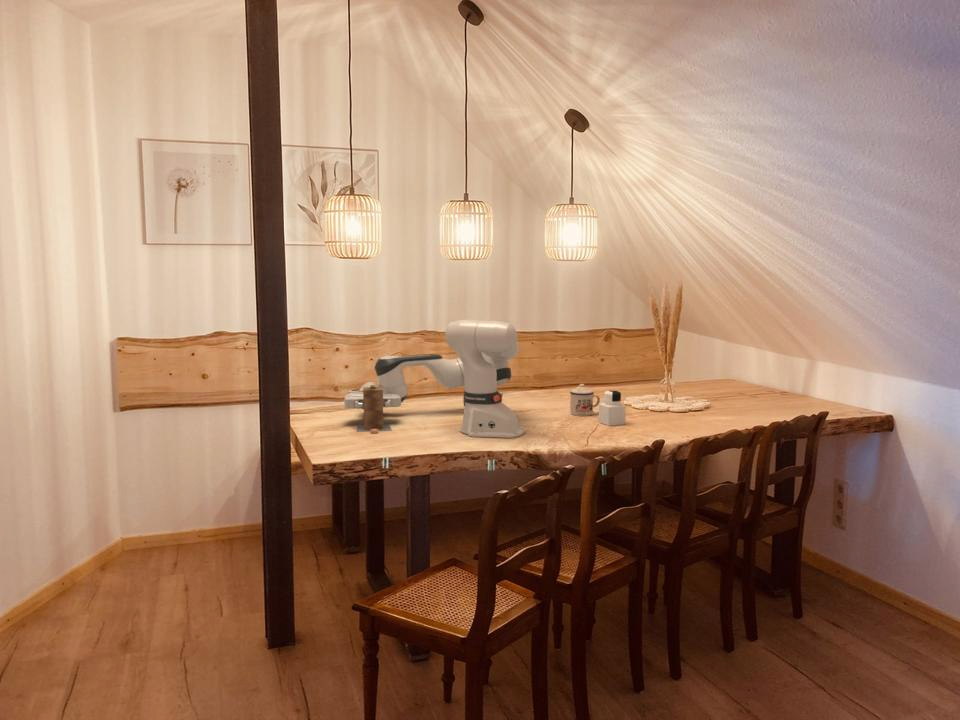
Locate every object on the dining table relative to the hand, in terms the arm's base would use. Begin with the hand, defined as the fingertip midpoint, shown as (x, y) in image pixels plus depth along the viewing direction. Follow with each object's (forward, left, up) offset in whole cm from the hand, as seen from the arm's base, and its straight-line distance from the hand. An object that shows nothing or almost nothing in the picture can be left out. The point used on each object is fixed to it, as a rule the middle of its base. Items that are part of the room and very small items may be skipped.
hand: (373, 405), depth 287 cm
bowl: (-4, +7, -9) cm, 11 cm away
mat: (+1, -1, -9) cm, 9 cm away
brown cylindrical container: (+1, -1, -8) cm, 8 cm away
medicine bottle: (-78, -38, -9) cm, 87 cm away
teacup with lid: (-65, -52, -9) cm, 83 cm away
